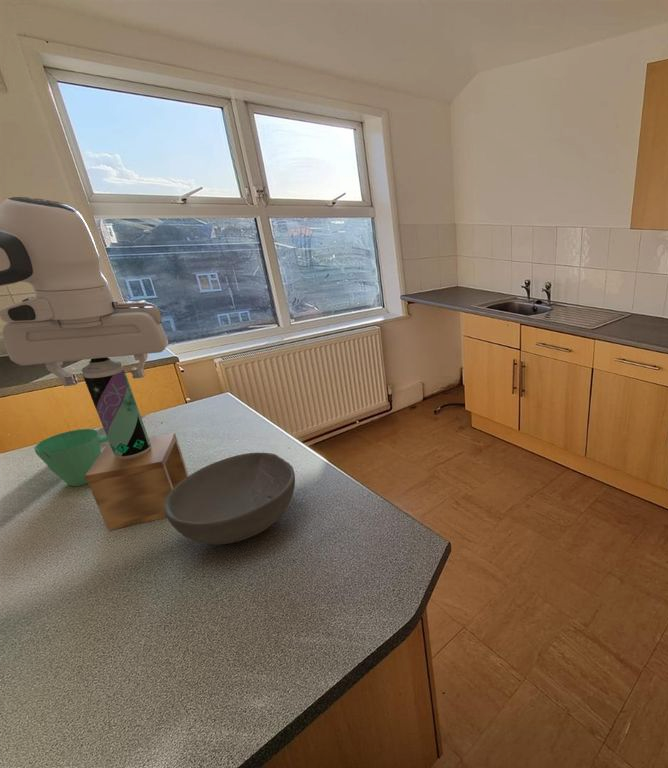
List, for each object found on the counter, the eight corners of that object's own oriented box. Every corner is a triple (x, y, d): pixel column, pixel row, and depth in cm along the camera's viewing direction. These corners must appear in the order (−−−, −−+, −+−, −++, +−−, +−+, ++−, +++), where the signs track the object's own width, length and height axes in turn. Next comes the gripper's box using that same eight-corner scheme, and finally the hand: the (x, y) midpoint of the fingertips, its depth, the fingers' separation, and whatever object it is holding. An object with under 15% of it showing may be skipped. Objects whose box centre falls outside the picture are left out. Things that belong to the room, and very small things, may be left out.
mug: (50, 499, 88) (30, 457, 84) (55, 477, 95) (37, 437, 91) (142, 473, 97) (127, 434, 93) (140, 455, 104) (127, 418, 100)
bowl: (151, 548, 76) (133, 502, 72) (251, 484, 94) (241, 444, 90) (234, 581, 70) (219, 532, 66) (325, 505, 88) (317, 464, 84)
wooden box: (108, 530, 80) (84, 475, 75) (127, 494, 90) (107, 443, 85) (180, 514, 84) (161, 461, 80) (190, 481, 94) (174, 432, 90)
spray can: (113, 451, 82) (74, 353, 75) (148, 441, 86) (115, 346, 78) (117, 463, 79) (76, 360, 71) (154, 452, 83) (119, 353, 75)
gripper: (160, 296, 78) (180, 367, 84) (4, 304, 70) (38, 382, 75) (151, 303, 73) (174, 378, 78) (-18, 312, 65) (20, 396, 70)
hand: (106, 380), depth 77 cm, fingers open, 8 cm apart
